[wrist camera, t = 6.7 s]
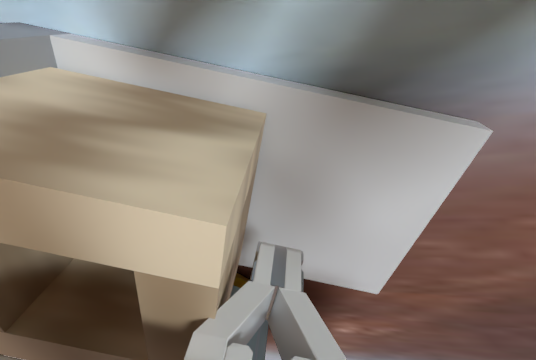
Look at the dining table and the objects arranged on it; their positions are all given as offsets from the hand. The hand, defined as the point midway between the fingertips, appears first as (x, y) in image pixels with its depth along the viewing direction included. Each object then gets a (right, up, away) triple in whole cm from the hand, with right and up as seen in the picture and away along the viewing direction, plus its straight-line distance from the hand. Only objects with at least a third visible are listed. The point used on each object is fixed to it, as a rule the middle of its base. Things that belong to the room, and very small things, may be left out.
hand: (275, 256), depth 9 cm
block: (-5, +3, +2) cm, 6 cm away
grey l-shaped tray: (-2, +3, +4) cm, 5 cm away
